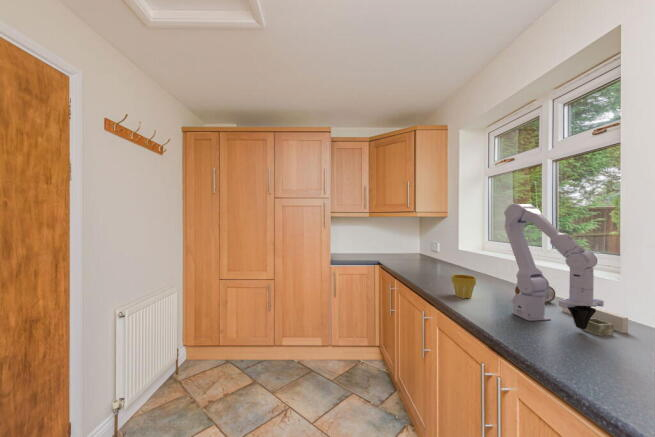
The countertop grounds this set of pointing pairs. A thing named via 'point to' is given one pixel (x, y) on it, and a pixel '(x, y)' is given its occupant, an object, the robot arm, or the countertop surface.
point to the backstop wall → (608, 319)
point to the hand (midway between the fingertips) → (580, 328)
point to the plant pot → (463, 285)
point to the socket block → (599, 327)
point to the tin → (548, 294)
